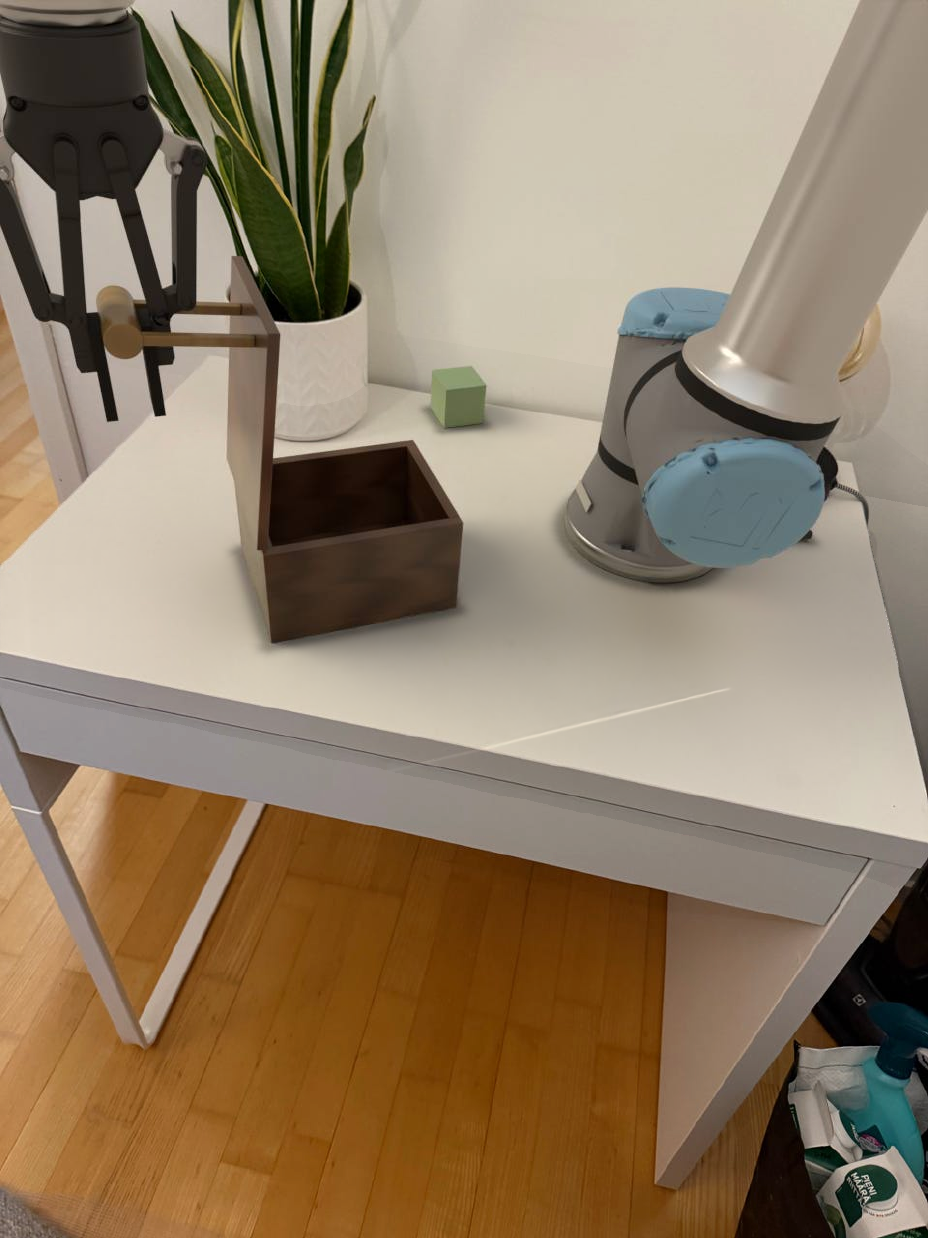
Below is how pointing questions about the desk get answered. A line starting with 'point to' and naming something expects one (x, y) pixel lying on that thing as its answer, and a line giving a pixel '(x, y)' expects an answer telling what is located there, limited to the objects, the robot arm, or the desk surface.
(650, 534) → the robot arm
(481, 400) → the block
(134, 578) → the desk surface
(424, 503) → the chest
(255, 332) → the lid
